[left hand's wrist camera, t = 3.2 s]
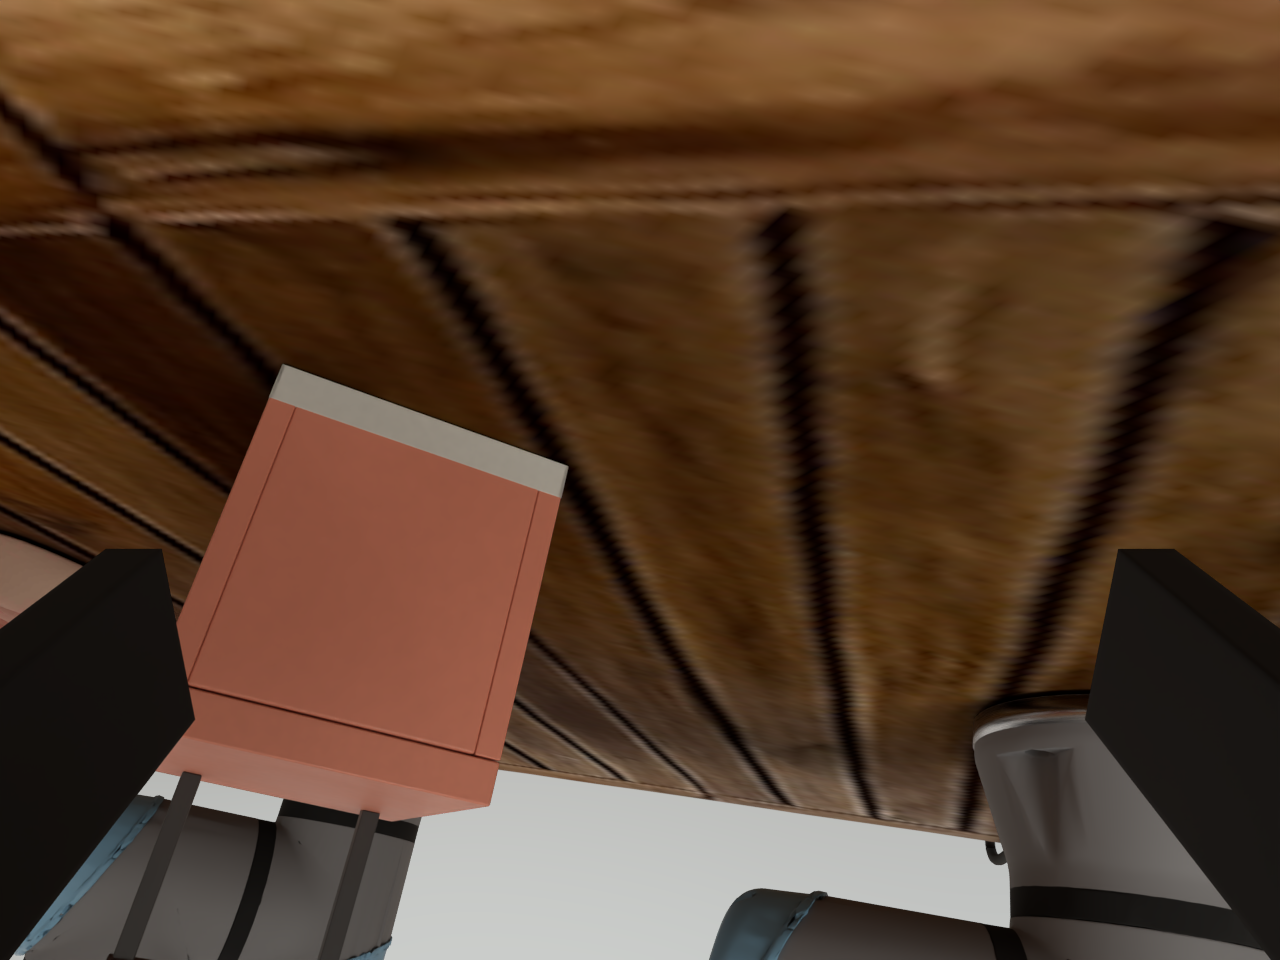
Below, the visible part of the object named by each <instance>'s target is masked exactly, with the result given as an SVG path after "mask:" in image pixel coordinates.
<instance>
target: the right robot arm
mask: <svg viewBox="0 0 1280 960" xmlns="http://www.w3.org/2000/svg"><path fill="white" fill-rule="evenodd" d="M170 803H171V800H167V799H164V797H162V796H160V795H159V796H155V797H149V796H143V795H136V797H135V798H134V799H133V801H132V802H131V803H130V805H129V806H128V807H127V808H126V810H125V811H124V812H123V814H122V815H121V816H120V817H119V819H118V820H117V821H116V823H115V824H114V825H113V826H112V828H111V829H110V830H109V832H108V833H107V834H106V835H105V837H104V838H103V839H102V841H101V842H100V843H99V845H98V846H97V847H96V848H95V850H94V851H93V852H92V854H91V855H90V856H89V857H88V859H87V860H86V861H85V863H84V864H83V865H82V866H81V868H80V869H79V870H78V872H77V873H76V874H75V876H74V877H73V878H72V879H71V881H70V882H69V883H68V885H67V886H66V887H65V888H64V890H63V891H62V892H61V894H60V895H59V896H58V897H57V899H56V900H55V901H54V903H53V904H52V905H51V906H50V908H49V909H48V910H47V912H46V913H45V914H44V916H43V917H42V918H41V919H40V921H39V922H38V923H37V925H36V926H35V927H34V928H33V930H32V931H31V932H30V934H29V935H28V936H27V937H26V939H25V940H24V941H23V943H22V944H21V945H20V947H19V948H18V949H17V950H16V952H15V953H14V954H15V955H24V954H25V957H24V959H23V960H106V959H107V956H108V955H109V954H110V953H112V954H113V953H114V951H115V948H116V946H117V943H118V940H119V938H120V935H121V932H122V930H123V927H124V924H125V922H126V919H127V917H128V914H129V911H130V909H131V906H132V903H133V901H134V898H135V896H136V893H137V890H138V888H139V885H140V882H141V880H142V877H143V874H144V872H145V869H146V867H147V864H148V861H149V859H150V856H151V853H152V851H153V848H154V845H155V843H156V840H157V838H158V835H159V832H160V830H161V827H162V824H163V822H164V819H165V816H166V814H167V811H168V809H169V806H170ZM358 817H359V814H354V813H349V812H345V811H340V810H335V809H331V808H326V807H321V806H316V805H312V804H307V803H302V802H298V801H293V800H288V799H283V802H282V805H281V808H280V811H279V814H278V817H277V820H276V822H270V821H265V820H260V819H256V818H251V817H247V816H242V815H237V814H233V813H228V812H223V811H219V810H214V809H209V808H204V807H199V806H195V805H191V808H190V810H189V813H188V816H187V819H186V821H185V824H184V827H183V829H182V832H181V835H180V838H179V840H178V843H177V846H176V848H175V851H174V854H173V856H172V859H171V862H170V865H169V867H168V870H167V873H166V875H165V878H164V881H163V884H162V886H161V889H160V892H159V894H158V897H157V900H156V902H155V905H154V908H153V911H152V913H151V916H150V919H149V921H148V924H147V927H146V930H145V932H144V935H143V938H142V940H141V943H140V946H139V948H138V951H137V954H136V957H138V958H144V959H151V960H317V958H318V955H319V952H320V948H321V945H322V941H323V938H324V934H325V931H326V927H327V924H328V921H329V917H330V914H331V910H332V907H333V903H334V900H335V896H336V893H337V890H338V886H339V883H340V879H341V876H342V872H343V869H344V865H345V862H346V858H347V855H348V852H349V848H350V845H351V841H352V838H353V834H354V831H355V827H356V824H357V821H358ZM420 821H421V817H417V818H411V819H404V820H398V821H392V822H391V821H387V820H382V819H379V820H378V823H377V827H376V830H375V834H374V837H373V841H372V845H371V848H370V852H369V855H368V859H367V862H366V866H365V869H364V873H363V877H362V880H361V884H360V887H359V891H358V894H357V898H356V902H355V905H354V909H353V912H352V916H351V919H350V923H349V927H348V930H347V934H346V937H345V941H344V944H343V948H342V952H341V955H340V959H339V960H384V956H385V953H386V950H387V948H388V947H389V945H390V944H391V941H392V936H391V934H392V930H393V926H394V922H395V918H396V914H397V910H398V906H399V902H400V898H401V894H402V890H403V886H404V883H405V879H406V875H407V871H408V867H409V863H410V859H411V855H412V851H413V847H414V843H415V839H416V835H417V832H418V828H419V824H420Z"/></svg>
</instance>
